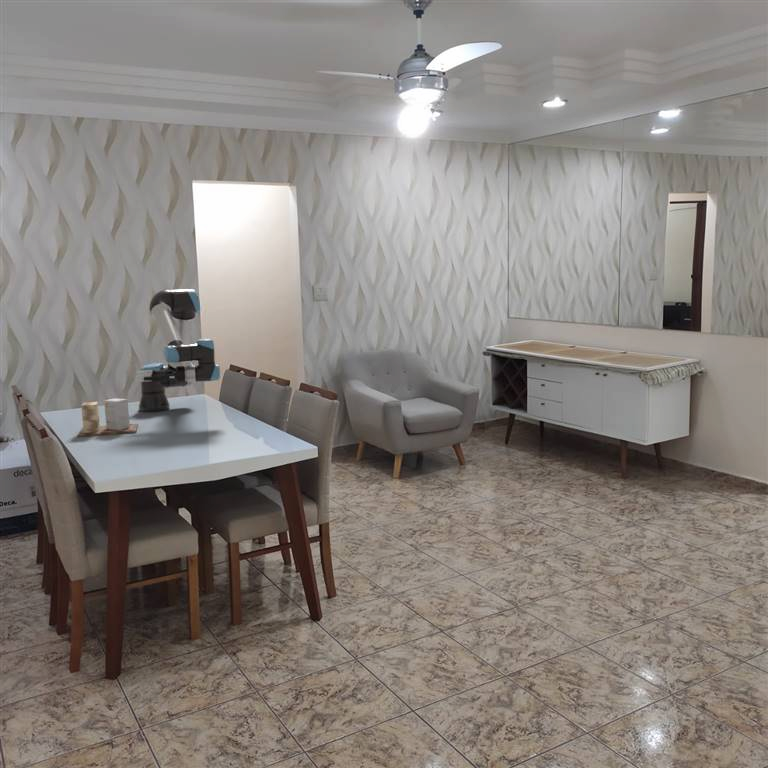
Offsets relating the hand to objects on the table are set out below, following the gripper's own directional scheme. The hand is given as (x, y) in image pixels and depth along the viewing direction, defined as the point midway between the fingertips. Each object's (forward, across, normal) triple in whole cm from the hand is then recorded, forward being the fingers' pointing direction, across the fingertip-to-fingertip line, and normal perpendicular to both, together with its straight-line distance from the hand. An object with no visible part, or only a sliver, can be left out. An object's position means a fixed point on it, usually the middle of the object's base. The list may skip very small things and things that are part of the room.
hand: (136, 376), depth 338 cm
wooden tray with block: (+13, -5, -23) cm, 27 cm away
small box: (+9, -5, -22) cm, 25 cm away
